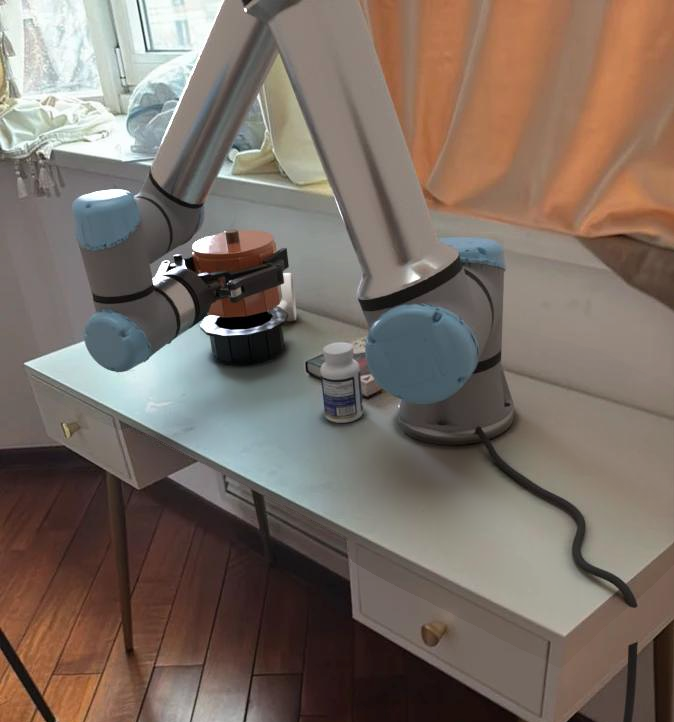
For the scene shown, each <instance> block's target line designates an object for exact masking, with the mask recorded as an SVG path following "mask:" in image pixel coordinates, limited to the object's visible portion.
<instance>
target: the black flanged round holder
mask: <svg viewBox="0 0 674 722" xmlns="http://www.w3.org/2000/svg"><path fill="white" fill-rule="evenodd" d="M287 318H288V313H287V312H286V311H285V310H283V309H282V308H281V307H277V306H276V307H274V308H272V309H270V310H268V311H266V312H262V313H258V314H254V315H249V316H243V317H219V316H213V315H209V316H207V317H205V318H204V319H203V320H202V321H201V323H200V324H199V329H200V330H201V332H203V333H204V334H205V335H206V336H208V337H209V341H210V347H211V352H212V358H213V360H214V361H215V362H217V364H220V365H224V366H229V367H249V366H256V365H261V364H264V363H268V362H270V361H273V360H275V359H277V358H279V357H280V356H282V354H283V353H284V352H285V350H286V346H285V339H284V332H283V326H284V325H286V323H287V322H286V321H287Z"/></svg>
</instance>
